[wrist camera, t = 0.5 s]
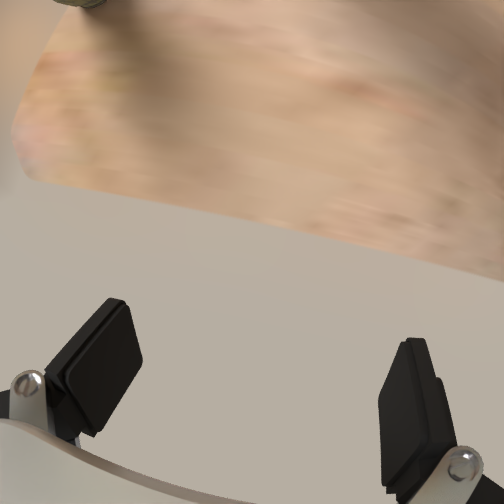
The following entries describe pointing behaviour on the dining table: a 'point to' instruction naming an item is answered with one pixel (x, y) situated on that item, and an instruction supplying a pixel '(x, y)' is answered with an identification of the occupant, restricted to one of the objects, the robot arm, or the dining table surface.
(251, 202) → the dining table surface
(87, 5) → the green tall carved block
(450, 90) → the dining table surface
